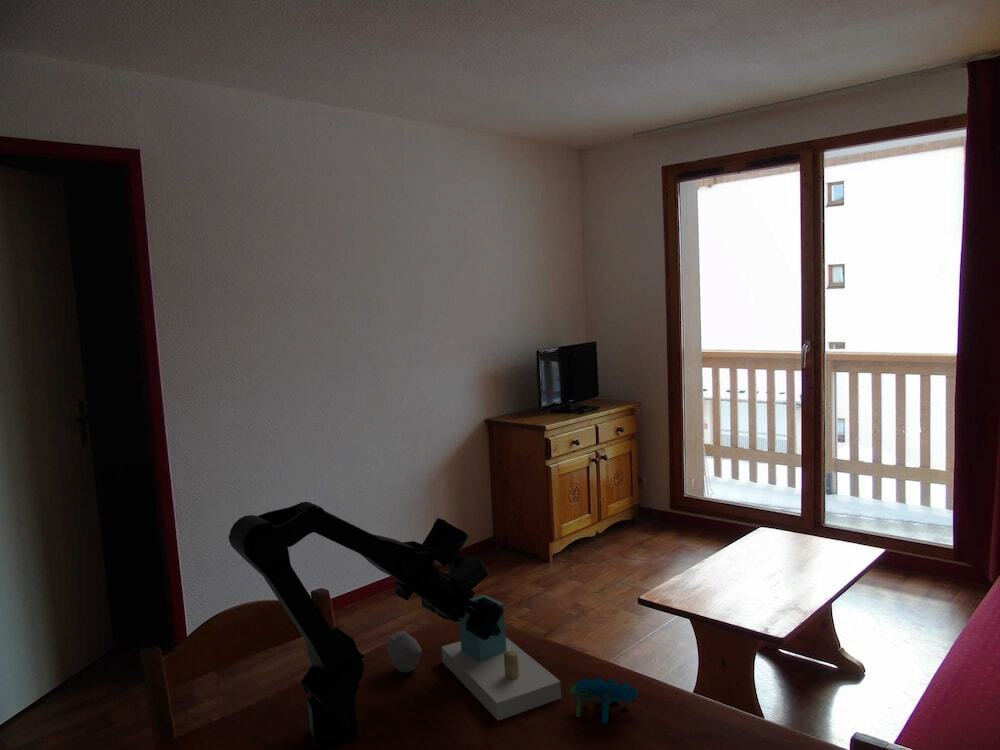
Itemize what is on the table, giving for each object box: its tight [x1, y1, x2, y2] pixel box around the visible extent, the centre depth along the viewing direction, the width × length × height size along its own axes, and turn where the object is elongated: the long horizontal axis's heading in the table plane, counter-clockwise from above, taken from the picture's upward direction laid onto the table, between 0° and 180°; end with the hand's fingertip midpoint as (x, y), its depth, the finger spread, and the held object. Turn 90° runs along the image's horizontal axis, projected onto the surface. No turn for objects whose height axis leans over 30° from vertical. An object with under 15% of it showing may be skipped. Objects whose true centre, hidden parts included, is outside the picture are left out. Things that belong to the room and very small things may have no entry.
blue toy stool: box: [569, 677, 639, 725], centre depth 114 cm, size 11×6×10 cm
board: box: [441, 637, 562, 722], centre depth 127 cm, size 12×23×8 cm, turn 27°
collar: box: [458, 594, 507, 662], centre depth 132 cm, size 6×6×9 cm
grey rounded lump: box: [385, 630, 422, 673], centre depth 132 cm, size 6×7×7 cm
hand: (488, 627), depth 133 cm, fingers closed on collar, 6 cm apart
